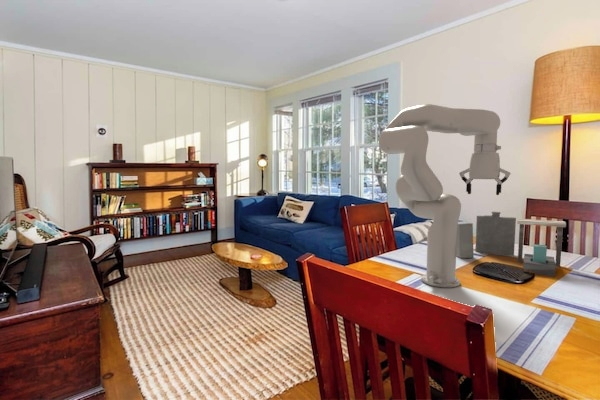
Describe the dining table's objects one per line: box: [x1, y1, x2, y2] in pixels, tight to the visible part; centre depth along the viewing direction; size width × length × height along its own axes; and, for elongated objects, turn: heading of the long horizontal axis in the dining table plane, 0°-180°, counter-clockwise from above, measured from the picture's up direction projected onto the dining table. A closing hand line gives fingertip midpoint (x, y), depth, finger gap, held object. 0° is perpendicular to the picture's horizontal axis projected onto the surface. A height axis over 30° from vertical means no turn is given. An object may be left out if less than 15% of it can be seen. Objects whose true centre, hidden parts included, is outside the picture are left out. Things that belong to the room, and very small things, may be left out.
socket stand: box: [516, 218, 567, 278], centre depth 135 cm, size 18×16×18 cm
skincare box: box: [456, 220, 475, 259], centre depth 155 cm, size 8×7×16 cm
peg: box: [532, 243, 548, 263], centre depth 133 cm, size 4×4×10 cm
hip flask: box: [474, 211, 517, 257], centre depth 159 cm, size 16×4×20 cm, turn 60°
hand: (483, 194), depth 130 cm, fingers open, 9 cm apart
